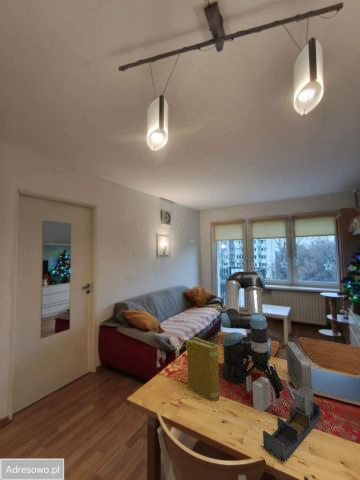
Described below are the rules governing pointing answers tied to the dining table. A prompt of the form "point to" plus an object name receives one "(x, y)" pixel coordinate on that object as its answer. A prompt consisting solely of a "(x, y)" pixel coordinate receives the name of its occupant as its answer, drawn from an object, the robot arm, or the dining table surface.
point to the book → (203, 368)
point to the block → (261, 394)
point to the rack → (293, 425)
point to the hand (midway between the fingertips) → (261, 397)
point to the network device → (297, 368)
